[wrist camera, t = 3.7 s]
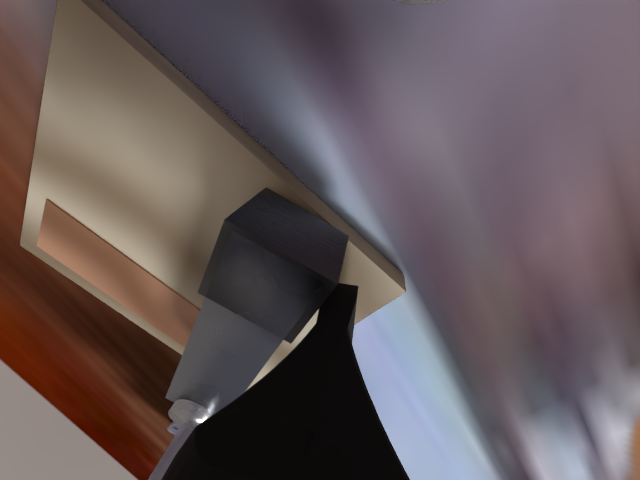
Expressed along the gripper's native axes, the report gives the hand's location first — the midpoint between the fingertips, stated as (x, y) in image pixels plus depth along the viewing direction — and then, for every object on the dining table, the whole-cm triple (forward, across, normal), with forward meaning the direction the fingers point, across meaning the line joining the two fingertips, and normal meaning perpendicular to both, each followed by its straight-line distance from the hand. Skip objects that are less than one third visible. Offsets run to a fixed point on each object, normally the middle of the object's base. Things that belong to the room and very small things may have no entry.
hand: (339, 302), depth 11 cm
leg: (+1, +4, +2) cm, 5 cm away
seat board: (+2, +8, 0) cm, 8 cm away
